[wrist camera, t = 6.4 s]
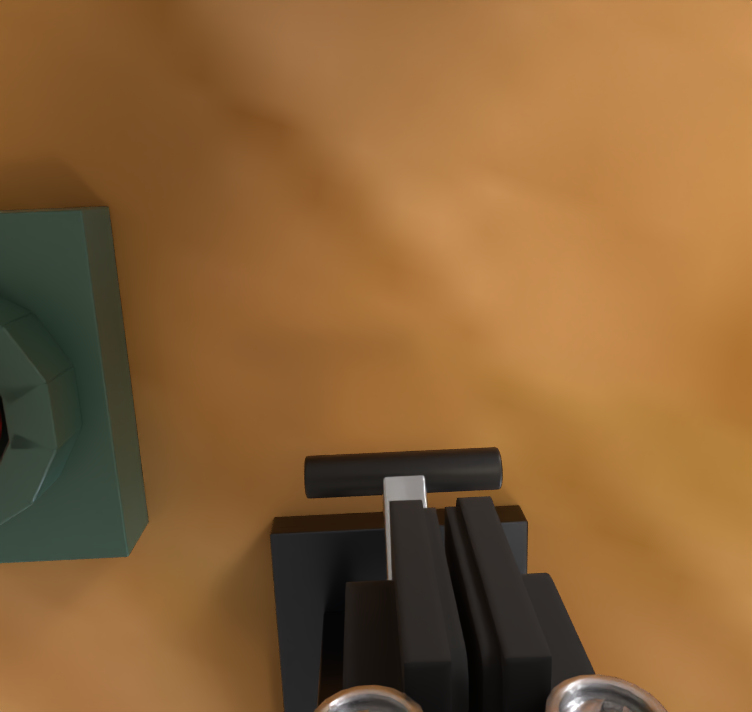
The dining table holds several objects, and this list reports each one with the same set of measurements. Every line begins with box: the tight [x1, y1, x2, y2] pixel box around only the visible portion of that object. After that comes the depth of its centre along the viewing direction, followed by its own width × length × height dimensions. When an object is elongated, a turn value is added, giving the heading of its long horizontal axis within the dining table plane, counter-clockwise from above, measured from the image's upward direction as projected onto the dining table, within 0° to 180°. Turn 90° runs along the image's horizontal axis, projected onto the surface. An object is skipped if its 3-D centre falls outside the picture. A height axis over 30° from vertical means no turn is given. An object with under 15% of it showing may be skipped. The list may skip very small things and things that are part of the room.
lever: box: [304, 447, 503, 580], centre depth 17 cm, size 12×5×2 cm
